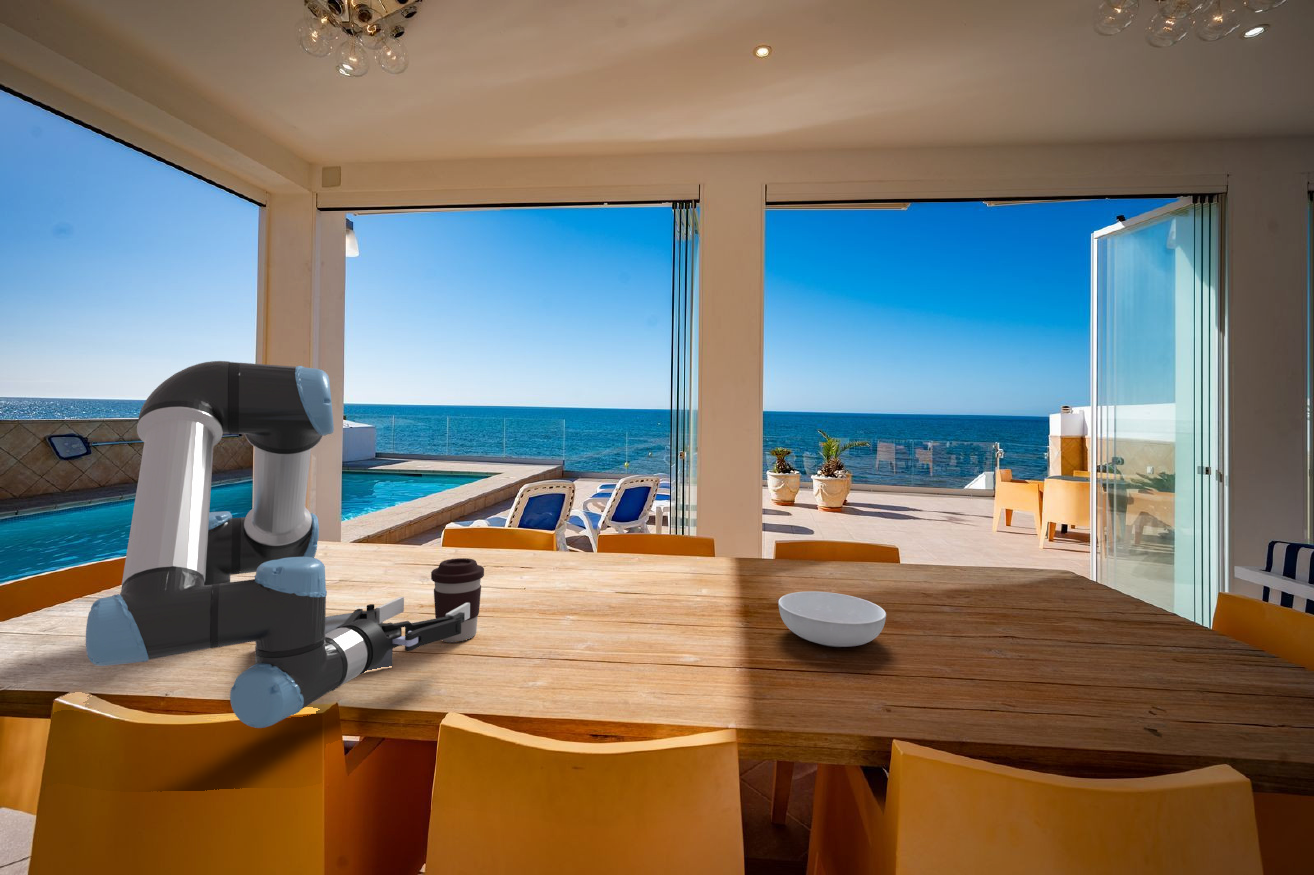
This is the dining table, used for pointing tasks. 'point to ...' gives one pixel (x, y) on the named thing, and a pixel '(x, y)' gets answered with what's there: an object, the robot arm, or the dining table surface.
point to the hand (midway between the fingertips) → (434, 607)
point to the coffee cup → (458, 592)
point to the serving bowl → (831, 618)
